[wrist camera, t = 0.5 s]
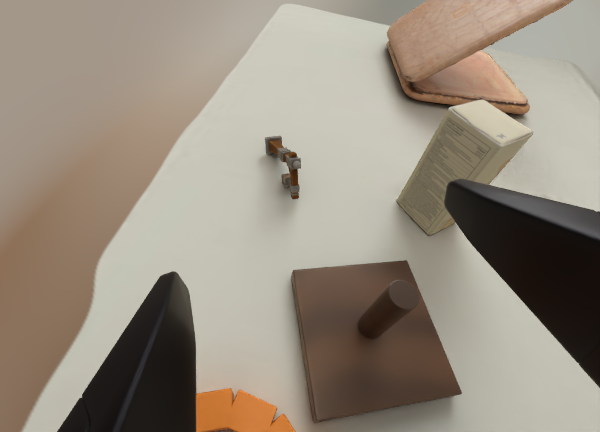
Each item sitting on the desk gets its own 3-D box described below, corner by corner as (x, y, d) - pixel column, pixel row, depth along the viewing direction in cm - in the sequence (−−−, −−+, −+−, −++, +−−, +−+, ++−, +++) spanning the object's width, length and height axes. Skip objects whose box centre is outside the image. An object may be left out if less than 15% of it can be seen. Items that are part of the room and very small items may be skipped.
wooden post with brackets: (289, 204, 27) (288, 158, 25) (267, 174, 34) (264, 135, 32) (307, 201, 28) (307, 155, 26) (282, 172, 35) (280, 133, 32)
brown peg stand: (453, 396, 20) (531, 379, 15) (313, 423, 18) (340, 416, 13) (401, 266, 26) (443, 218, 20) (291, 276, 24) (303, 226, 18)
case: (380, 42, 56) (418, -75, 43) (484, 59, 57) (550, -49, 45) (398, 102, 43) (459, -38, 30) (530, 121, 45) (640, -4, 32)
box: (456, 222, 30) (540, 134, 21) (427, 237, 29) (505, 148, 20) (421, 187, 33) (483, 95, 24) (393, 199, 31) (448, 105, 22)
